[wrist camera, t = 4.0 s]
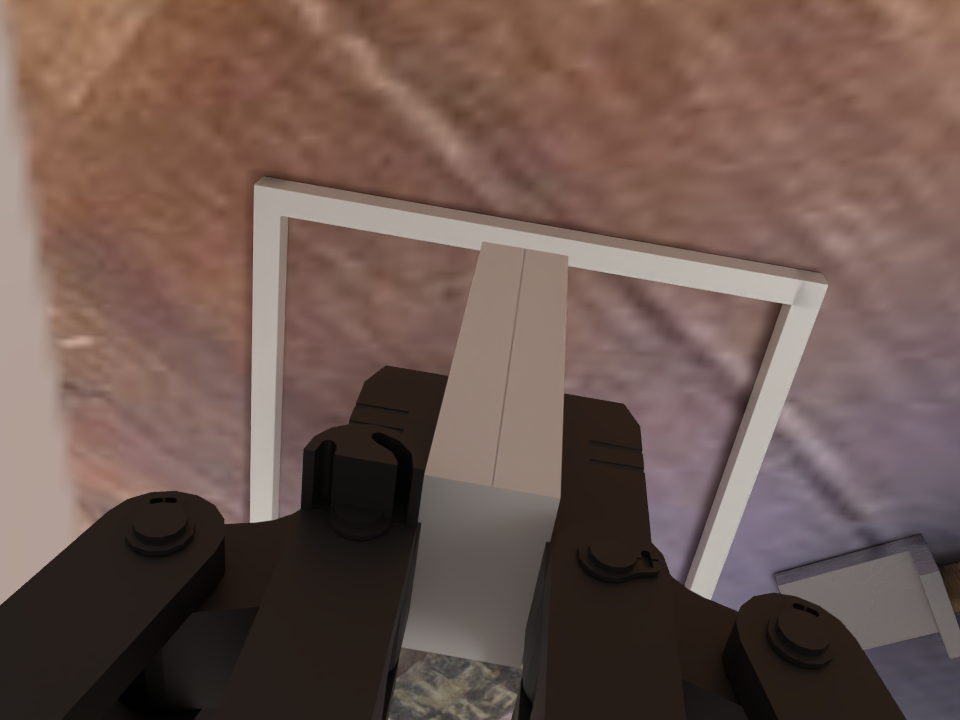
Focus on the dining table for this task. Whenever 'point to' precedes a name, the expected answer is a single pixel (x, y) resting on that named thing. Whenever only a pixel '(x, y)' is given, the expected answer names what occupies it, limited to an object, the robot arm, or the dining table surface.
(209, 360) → the dining table surface
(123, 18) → the dining table surface
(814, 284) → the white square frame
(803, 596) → the hand shovel
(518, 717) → the robot arm
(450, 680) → the stone
